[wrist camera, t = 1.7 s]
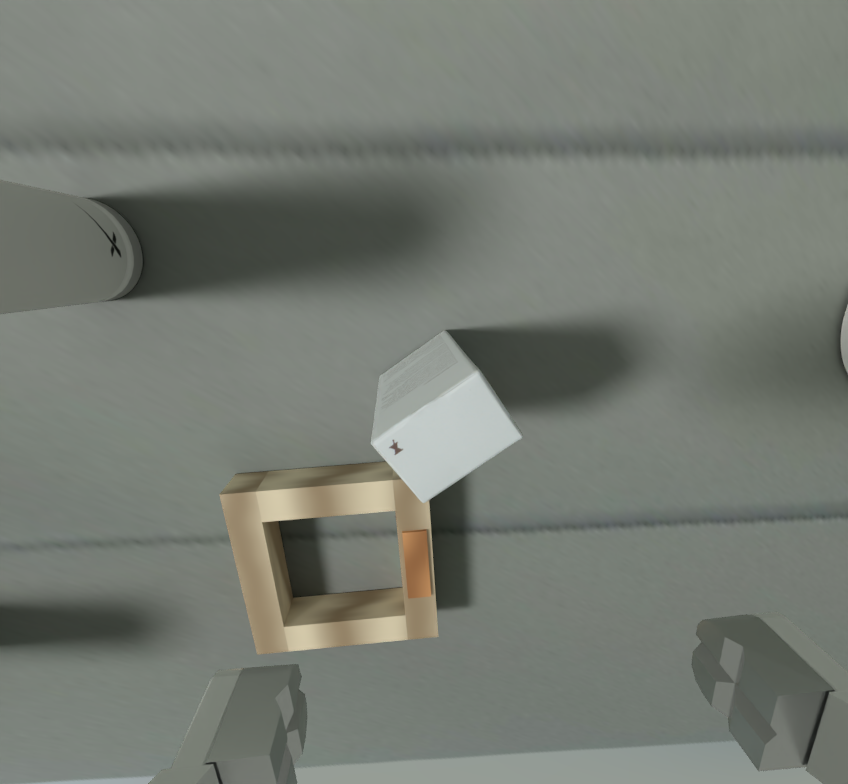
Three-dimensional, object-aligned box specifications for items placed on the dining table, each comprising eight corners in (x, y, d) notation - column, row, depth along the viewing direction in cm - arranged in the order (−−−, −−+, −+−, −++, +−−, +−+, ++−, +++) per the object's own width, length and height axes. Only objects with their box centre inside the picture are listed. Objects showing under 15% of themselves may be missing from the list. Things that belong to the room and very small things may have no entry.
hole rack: (425, 458, 32) (427, 478, 29) (435, 607, 36) (438, 638, 33) (235, 473, 32) (218, 496, 29) (268, 623, 36) (256, 656, 33)
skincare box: (412, 419, 31) (420, 508, 20) (378, 375, 30) (365, 442, 19) (479, 374, 30) (527, 439, 19) (446, 326, 29) (477, 366, 18)
